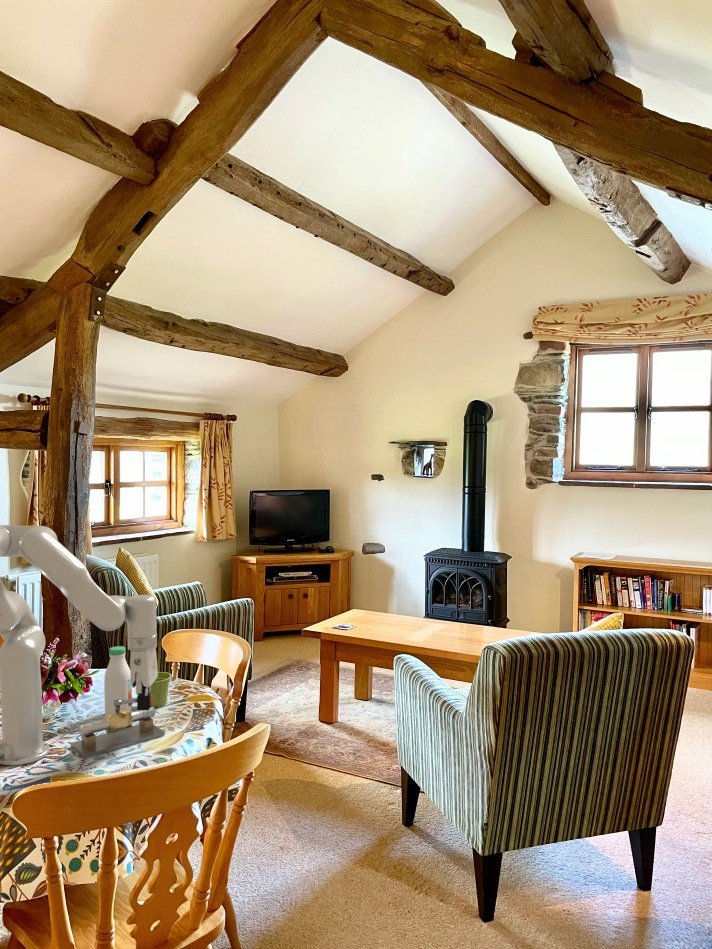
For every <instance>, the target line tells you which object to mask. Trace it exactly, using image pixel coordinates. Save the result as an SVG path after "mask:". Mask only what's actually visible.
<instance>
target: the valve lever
mask: <svg viewBox="0 0 712 949" xmlns="http://www.w3.org/2000/svg"><path fill="white" fill-rule="evenodd" d="M152 702H153V696H152V693H151V703H152ZM129 703H132V704H137V697H135V698H134V697H132V698H131V699H124V700H120V699H118V700H114V701H113V705H114V706H120V705H122V704H129Z"/></svg>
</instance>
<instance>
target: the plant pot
mask: <svg viewBox="0 0 712 949" xmlns="http://www.w3.org/2000/svg"><path fill="white" fill-rule="evenodd" d="M171 678H172V674H171V673H170V672H167V671H164V672H163V671H158V676H157V678H156V680H155V681H154V682H153V684H152V685H151V691H150V693H148V694H151V693H152V696H153V702H152V703H151V707H154V708H155V707H157V708H161V707H163V705H164V706H166V705H167V703H168V695H169V694H168V693H169V685H170V683H171ZM160 706H161V707H160Z"/></svg>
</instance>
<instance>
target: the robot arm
mask: <svg viewBox="0 0 712 949" xmlns="http://www.w3.org/2000/svg"><path fill="white" fill-rule="evenodd" d="M0 557H2V558H3V557H5V558H7V557H12V558H13V557H14V558H16V557H17V558H21V557H23V558H24V559H25V560H26V561H27V562H28V563H29V564H31V566H32V567H34V568H35V569H36V571H37V570H38V572H40V574H42V575H43V576H44V577H45V578H46V579H48V580H49V581H50V582H51V583H52V584H53V585H54V586H55V587H57V588H58V589H59V591H60V593H62V595H63V596H64V597H65V598H66V599H67V600H68V601H69V602H70V603H71V604H72V606H73V607H75V608H76V609H77V611H79V613H80V614H82V615H83V617H85V618H86V619H87V620H89V621H90V622H91V623H92V624H93V625H95V626H96V627H97V628H99V629H100V630H102V631H106V632H112V631H113V632H114V631H116V630H118V629H119V628H121V626H122V625H123V624H124V622H126V625H127V626H126V627H127V630H126V631H127V632H126V633H127V649H128V650H129V651H130V673H131V686H132V688H135V694H136V698H137V702H136V706H137V708H136V711H137V710H149V709H150V708H151V694H148V693H150V691H151V685H152V684H153V682H154V681H155V680H156V678H157V676H158V672H159V671H158V670H159V669H158V659H157V649H156V648H157V647H158V633H157V632H158V631H157V627H158V626H157V624H158V623H157V600H156V598H155V597H154V595H149V594H138V595H137V594H136V595H131V596H130V595H129V596H127V595H116V594H115V595H114V594H113V595H107V594H106V593H105V592H104V591H103V590H102V588H100V587H99V586H98V585H97V583H96V582H95V581H94V580H93V578H92V576H91V575H90V573H89V570H88V569H87V567H86V566H85V564H84V563H83V562H82V561H81V560H80V559H79V558H78V557H76V556H75V555H74V554H73V553H72V552H70V551H69V549H67V548H66V547H65V546H64V545H63V544H62V543H61V542H59V540H58V536H57V534H56V532H55V531H54V530H53V529H51V528H50V527H48V526H45V525H14V524H13V525H12V524H11V525H5V524H0ZM0 637H1V638H2V640H3V641H4V642H3V643H2V645H1V646H0V710H1V711H0V712H1V713H0V715H1V717H0V718H1V739H0V765H4V766H20V765H25V764H31V763H33V762H37V761H39V760H41V759H43V758H45V757H46V756H47V755H48V754H49V753H50V750H51V749H50V747H51V746H50V745H49V744H48V743H47V742H45V741H44V740H43V739H44V733H43V730H44V729H43V703H42V702H43V699H42V698H43V697H42V696H43V695H42V693H43V692H42V676H41V664H40V663H41V660H40V659H41V655H42V654H43V652H44V650H45V649H46V648H45V647H46V636H45V634H44V632H43V629H42V628H41V625H40V624H39V622H38V620H37V619H36V617H35V615H34V613H33V611H32V609H31V607H30V605H29V603H28V602H27V600H26V599H25V598H24V597H23V596H22V595H21V594H19V593H17V592H15V591H13V590H8V589H7V587H6V585H5V584H4V581H3V579H2V578H1V577H0Z"/></svg>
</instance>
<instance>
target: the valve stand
mask: <svg viewBox="0 0 712 949" xmlns="http://www.w3.org/2000/svg"><path fill="white" fill-rule="evenodd" d="M155 710H156V709H155V707H151V708H150V709H149V710H137V709H136V710H134V711H133V710H132V712H131V711H130V710H129V709H128V708H127V709H123V710H120V706H115V712H111V713H108V714H105V713H104V715H103V719H99V720H96V721H92V722H88V723H84V724H80V725H78V734H79V736H80V737H81V739H80V740H78V741H77V740H76V741H73V742H70V748H71V749H72V750H74V751H75V752H76V753H77V754H78V755H79V756H80V757H82V758H83V759H84V760H86V759H89V758H92V757H97V756H99V755H102V754H107V753H110V752H113V750H114V751H115V750H116V751H117V750H121V749H124V748H127V747H129V746H130V747H131V746H132V745H133V744H134V745H137V744H140V742H141V743H143V742H144V743H145V742H147V741H150V740H154V739H157V738H161V737H164V736H165V734H166V732H165V731H164V730H163V729H161V728H159V727H158V726H157V725H155V724H154V719H153V718H154V717H155V716H156V711H155ZM136 722H139V723H138V724H134V725H133V723H136ZM103 731H105V733H102V734H98V735H96V733H99V732H103ZM134 745H133V746H134ZM126 746H127V747H126ZM123 747H124V748H123Z"/></svg>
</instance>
